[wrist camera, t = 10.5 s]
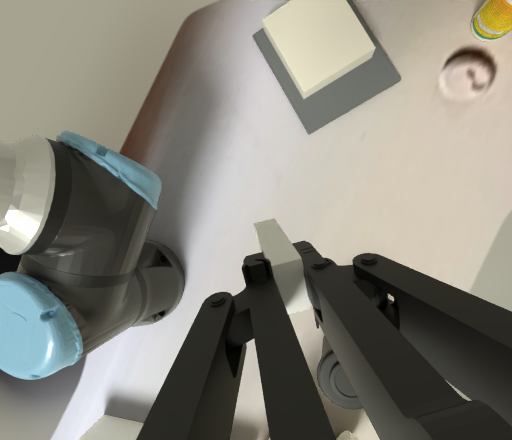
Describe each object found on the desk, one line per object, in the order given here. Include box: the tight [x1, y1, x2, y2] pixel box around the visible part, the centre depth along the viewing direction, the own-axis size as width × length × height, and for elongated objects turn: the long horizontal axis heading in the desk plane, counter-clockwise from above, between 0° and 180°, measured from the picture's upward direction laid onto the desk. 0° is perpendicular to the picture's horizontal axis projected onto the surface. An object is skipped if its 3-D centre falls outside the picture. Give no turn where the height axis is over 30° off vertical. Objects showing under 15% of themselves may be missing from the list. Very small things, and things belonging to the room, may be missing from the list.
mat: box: [253, 0, 401, 134], centre depth 42 cm, size 20×16×1 cm
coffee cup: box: [317, 336, 363, 409], centre depth 37 cm, size 8×8×10 cm
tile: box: [262, 0, 376, 99], centre depth 41 cm, size 2×12×14 cm
